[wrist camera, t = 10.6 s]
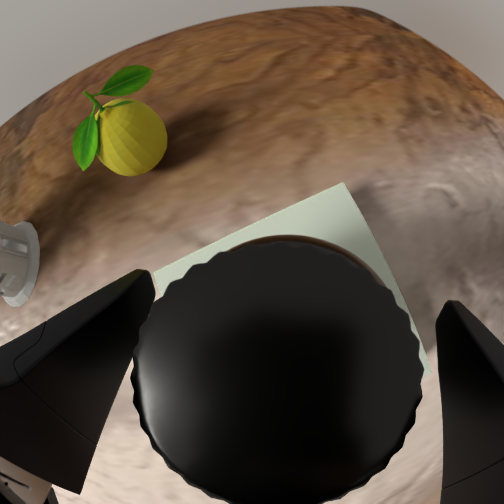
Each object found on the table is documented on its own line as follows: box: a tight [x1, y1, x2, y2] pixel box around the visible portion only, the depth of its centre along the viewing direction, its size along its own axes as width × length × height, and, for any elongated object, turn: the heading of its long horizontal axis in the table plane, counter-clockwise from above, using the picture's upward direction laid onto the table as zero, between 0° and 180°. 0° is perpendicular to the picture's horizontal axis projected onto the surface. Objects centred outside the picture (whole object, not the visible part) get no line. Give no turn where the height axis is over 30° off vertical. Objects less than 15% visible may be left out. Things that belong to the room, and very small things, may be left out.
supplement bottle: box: [130, 234, 424, 504], centre depth 9 cm, size 7×7×12 cm
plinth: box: [153, 182, 432, 379], centre depth 17 cm, size 13×13×3 cm
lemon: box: [72, 65, 167, 176], centre depth 18 cm, size 7×6×10 cm
